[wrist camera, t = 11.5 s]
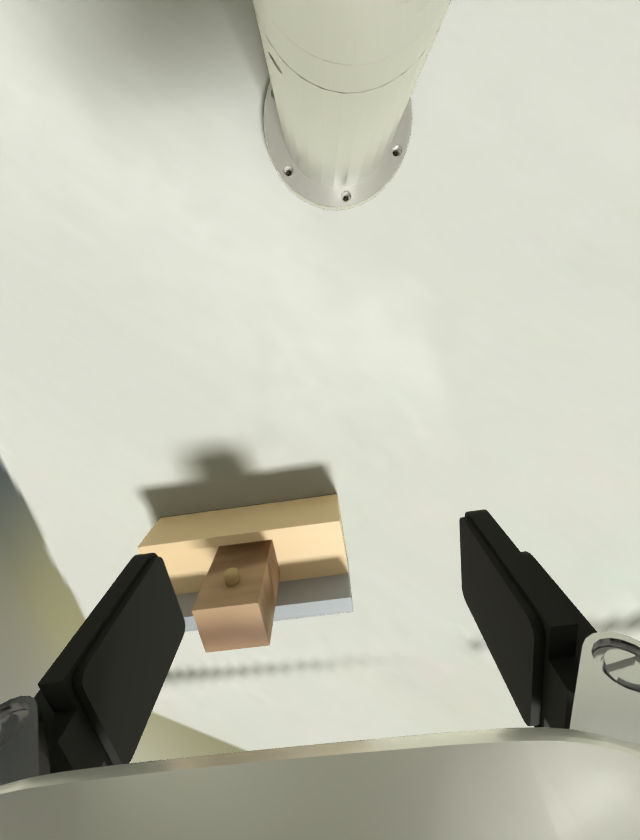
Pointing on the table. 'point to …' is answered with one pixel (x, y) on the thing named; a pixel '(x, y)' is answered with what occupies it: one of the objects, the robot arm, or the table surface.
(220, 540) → the cleat board
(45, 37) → the table surface
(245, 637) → the cabinet block
